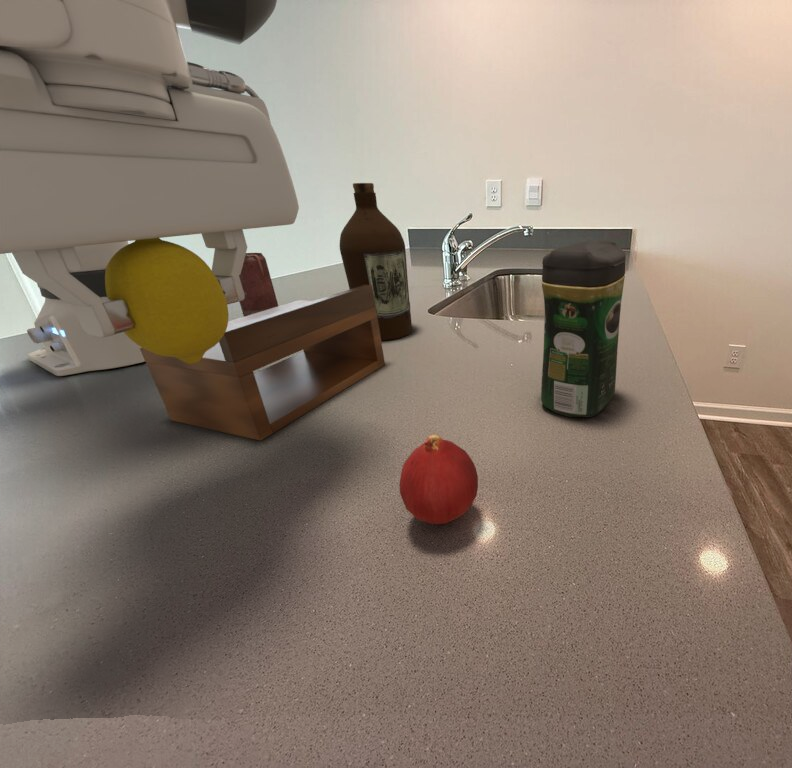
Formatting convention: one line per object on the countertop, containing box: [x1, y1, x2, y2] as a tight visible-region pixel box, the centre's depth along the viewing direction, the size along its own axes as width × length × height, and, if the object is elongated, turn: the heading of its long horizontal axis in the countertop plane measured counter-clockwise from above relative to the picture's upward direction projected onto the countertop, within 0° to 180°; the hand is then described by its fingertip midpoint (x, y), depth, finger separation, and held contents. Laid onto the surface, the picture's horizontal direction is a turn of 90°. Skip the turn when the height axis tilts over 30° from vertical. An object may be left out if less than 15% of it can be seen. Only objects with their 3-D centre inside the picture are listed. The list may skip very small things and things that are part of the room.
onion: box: [398, 434, 479, 525], centre depth 30 cm, size 6×6×8 cm
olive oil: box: [339, 182, 413, 342], centre depth 70 cm, size 11×11×25 cm
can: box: [239, 252, 279, 317], centre depth 77 cm, size 6×6×14 cm
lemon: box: [105, 238, 229, 363], centre depth 25 cm, size 6×6×8 cm
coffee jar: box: [540, 239, 627, 418], centre depth 46 cm, size 10×8×19 cm
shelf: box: [140, 285, 386, 442], centre depth 52 cm, size 14×22×12 cm, turn 160°
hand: (175, 316), depth 25 cm, fingers closed on lemon, 5 cm apart
